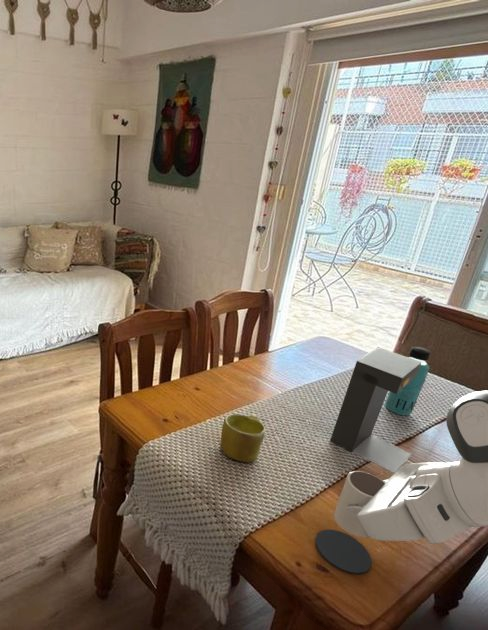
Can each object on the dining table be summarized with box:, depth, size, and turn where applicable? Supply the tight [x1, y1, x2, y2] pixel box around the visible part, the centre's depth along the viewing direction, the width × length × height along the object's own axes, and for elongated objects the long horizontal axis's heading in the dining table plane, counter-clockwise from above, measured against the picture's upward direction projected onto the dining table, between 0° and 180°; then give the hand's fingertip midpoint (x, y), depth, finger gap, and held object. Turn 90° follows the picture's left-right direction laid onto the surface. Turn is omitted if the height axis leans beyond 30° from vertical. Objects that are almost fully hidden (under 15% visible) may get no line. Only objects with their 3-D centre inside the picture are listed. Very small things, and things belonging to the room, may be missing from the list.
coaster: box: [314, 528, 372, 575], centre depth 81 cm, size 9×9×1 cm
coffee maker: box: [329, 346, 422, 474], centre depth 102 cm, size 14×12×24 cm
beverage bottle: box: [384, 346, 431, 416], centre depth 118 cm, size 6×7×20 cm
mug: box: [220, 413, 266, 463], centre depth 105 cm, size 12×10×10 cm
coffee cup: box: [332, 470, 385, 539], centre depth 77 cm, size 6×6×9 cm
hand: (357, 500), depth 77 cm, fingers closed on coffee cup, 6 cm apart
